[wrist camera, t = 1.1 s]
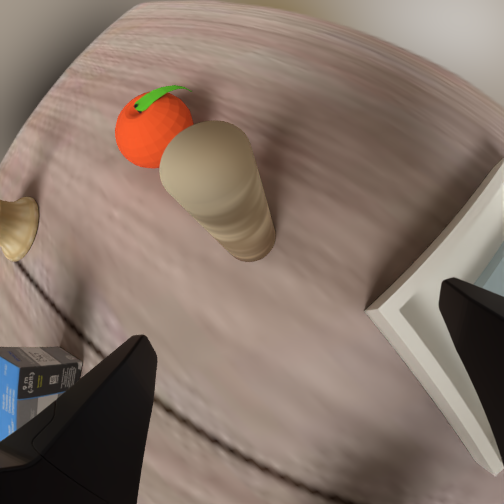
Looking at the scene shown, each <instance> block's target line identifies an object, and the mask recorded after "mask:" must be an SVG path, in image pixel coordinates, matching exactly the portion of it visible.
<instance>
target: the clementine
mask: <svg viewBox="0 0 504 504" xmlns="http://www.w3.org/2000/svg"><path fill="white" fill-rule="evenodd" d="M176 89H187V88H185V87H182V86H176V85H174V86H166V87H161V88H158V89H156V90H153V91H151V92H147V93H143V94H141V95H139V96H137V97H135V98H134V99H132V100H131V101H130V102H129V103H128V104H127V105H126V106H125V107H124V108H123V110H122V111H121V112H120V114H119V116H118V119H117V123H116V128H115V137H116V142H117V145H118V147H119V150H120V151H121V153H122V154H123V156H124V157H125V158H126V159H128V160H129V161H130V162H132V163H133V164H135V165H138V166H140V167H145V168H159V167H160V161H161V158H162V155H163V153H164V151H165V149H166V147H167V146H168V144H169V143H170V142H171V140H172V139H173V138H174V137H175V136H176V135H178V134H179V133H180V132H181V131H183V130H184V129H186V128H188V127H190V126H192V125H193V120H192V117H191V113H190V110H189V109H188V108H187V106H186V105H185V104H184V103H183V101H182V100H181V99H179V98H177V97H176V96H174V95H172V94H170V93H168V92H170V91H173V90H176ZM187 90H189V89H187ZM189 91H190V90H189ZM191 92H192V91H191Z"/></svg>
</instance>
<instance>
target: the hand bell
mask: <svg viewBox="0 0 504 504" xmlns="http://www.w3.org/2000/svg"><path fill="white" fill-rule="evenodd" d="M38 220H39V212H38V206H37V203H36V202H35V200H34V199H33V198H31V197H23V198H20V199H18V200H17V201H15V202H7V201H2V200H0V246H1V247H2V250H3V253H4V254H5V256H6V257H7V258H8V259H9V260H10V261H19V260H20V259H22V258H23V257H24V256H25V255H26V254H27V252H28V251H29V249H30V247H31V245H32V243H33V241H34V238H35V235H36V232H37V227H38Z"/></svg>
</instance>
